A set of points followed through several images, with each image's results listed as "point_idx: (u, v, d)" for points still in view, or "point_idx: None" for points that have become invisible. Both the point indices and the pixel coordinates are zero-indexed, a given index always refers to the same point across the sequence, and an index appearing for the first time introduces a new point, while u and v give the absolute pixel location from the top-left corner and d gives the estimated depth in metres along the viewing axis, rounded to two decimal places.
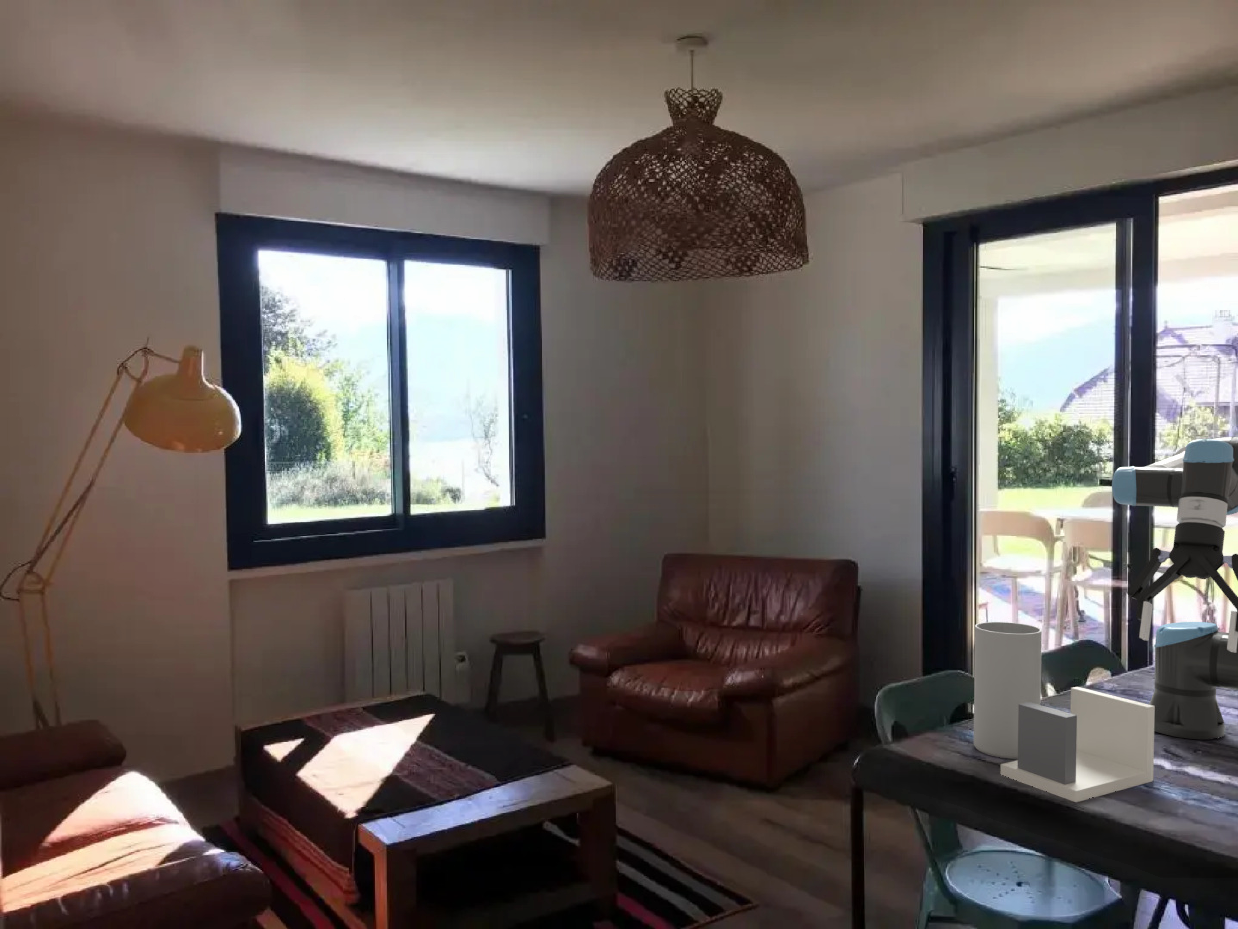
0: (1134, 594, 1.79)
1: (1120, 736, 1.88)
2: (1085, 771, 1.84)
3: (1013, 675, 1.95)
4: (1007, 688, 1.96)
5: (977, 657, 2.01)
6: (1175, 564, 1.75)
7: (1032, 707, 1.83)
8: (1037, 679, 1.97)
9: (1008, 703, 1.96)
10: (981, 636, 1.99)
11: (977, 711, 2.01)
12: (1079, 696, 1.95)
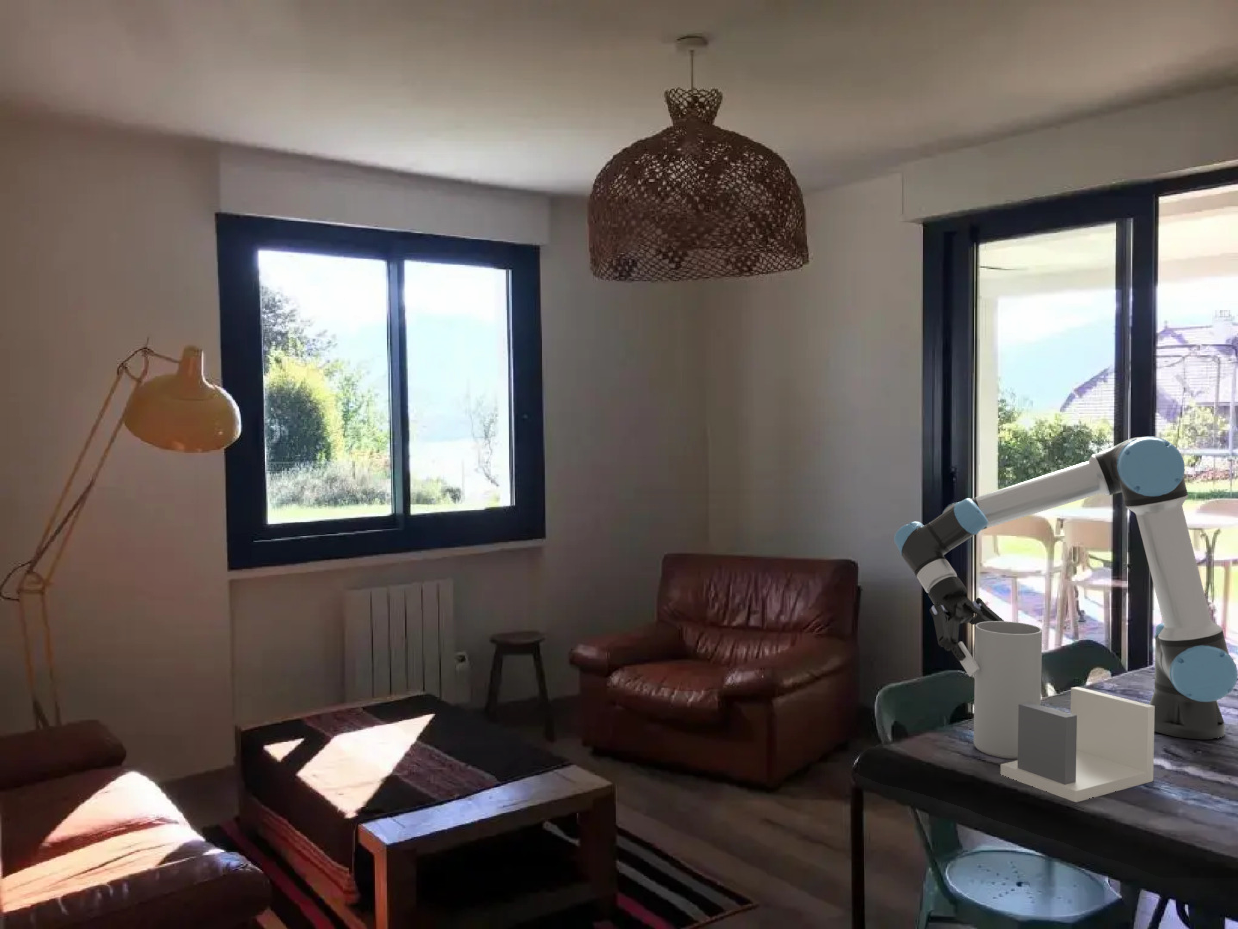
0: None
1: (1120, 736, 1.88)
2: (1085, 771, 1.84)
3: (1013, 675, 1.95)
4: (1007, 688, 1.95)
5: (977, 657, 2.01)
6: None
7: (1032, 707, 1.83)
8: (1038, 679, 1.96)
9: (1008, 704, 1.95)
10: (981, 636, 1.99)
11: (977, 711, 2.01)
12: (1079, 696, 1.95)
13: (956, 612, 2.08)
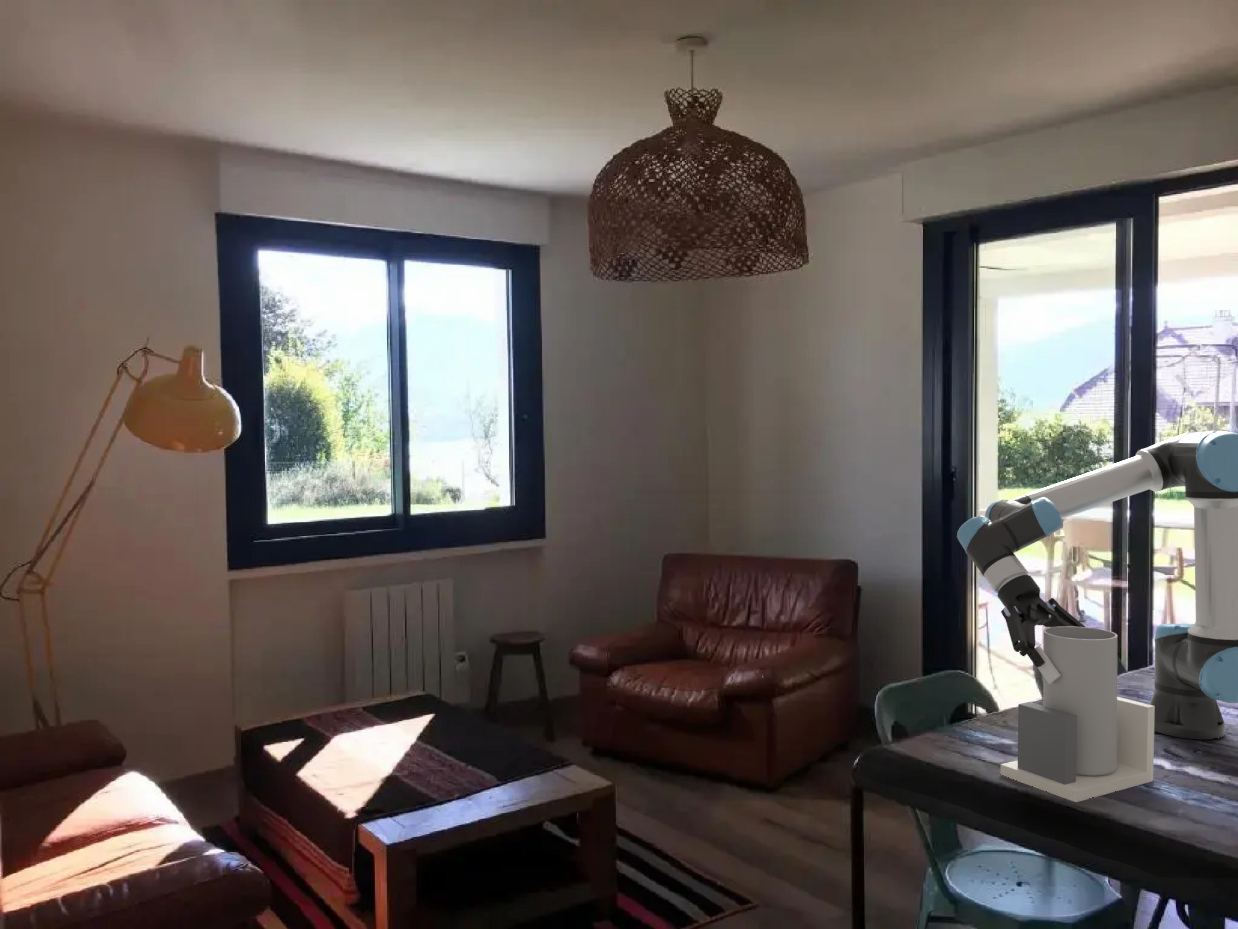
0: None
1: (1120, 736, 1.88)
2: None
3: (1089, 684, 1.80)
4: (1082, 699, 1.80)
5: None
6: None
7: (1032, 707, 1.83)
8: (1114, 688, 1.81)
9: (1083, 715, 1.80)
10: (1051, 642, 1.84)
11: None
12: None
13: (1031, 614, 1.91)
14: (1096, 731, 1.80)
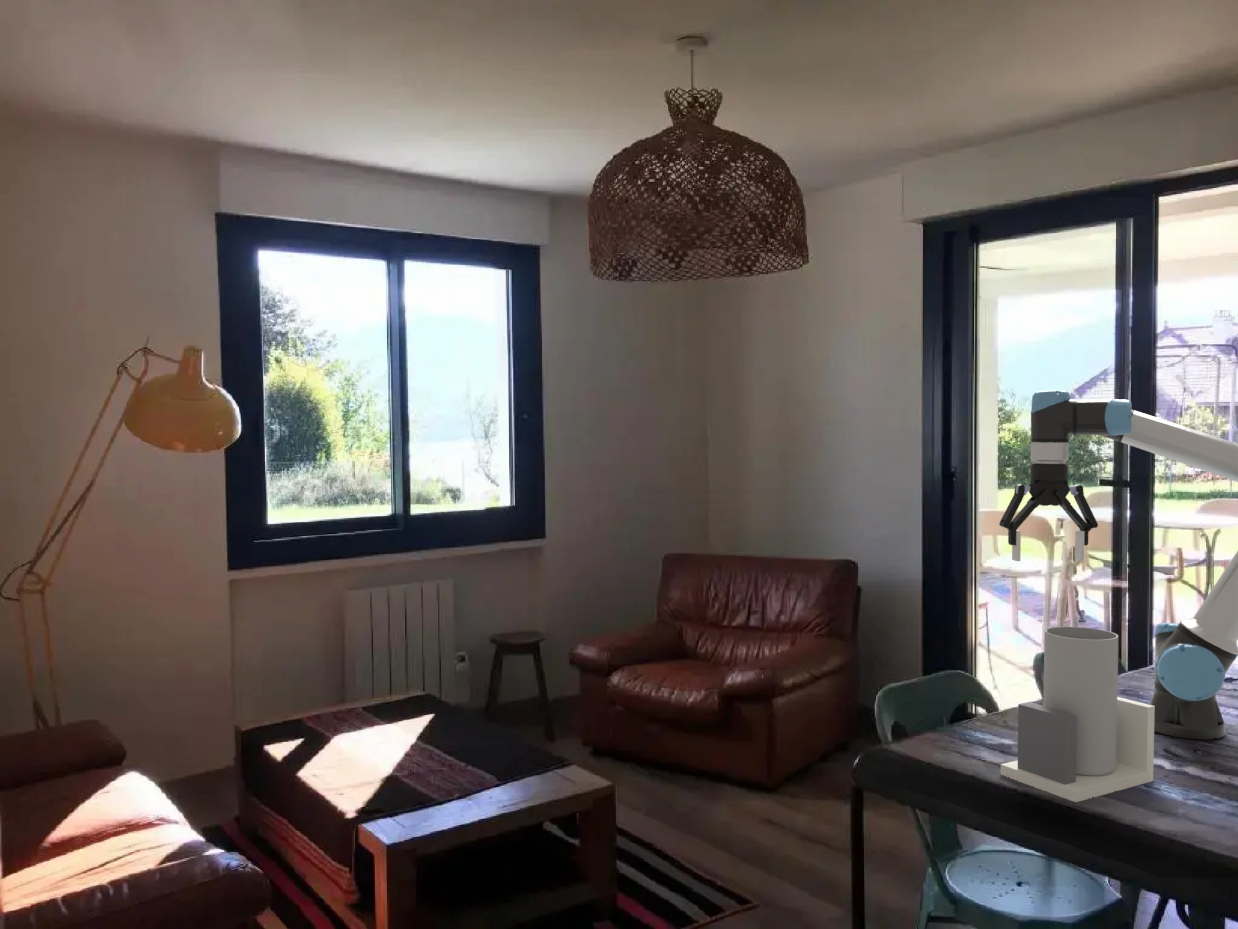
0: None
1: (1120, 736, 1.88)
2: None
3: (1091, 684, 1.80)
4: (1084, 699, 1.80)
5: (1048, 665, 1.85)
6: None
7: (1032, 707, 1.83)
8: (1115, 688, 1.82)
9: (1085, 715, 1.80)
10: (1053, 642, 1.84)
11: None
12: None
13: (1036, 500, 2.13)
14: (1097, 731, 1.80)
